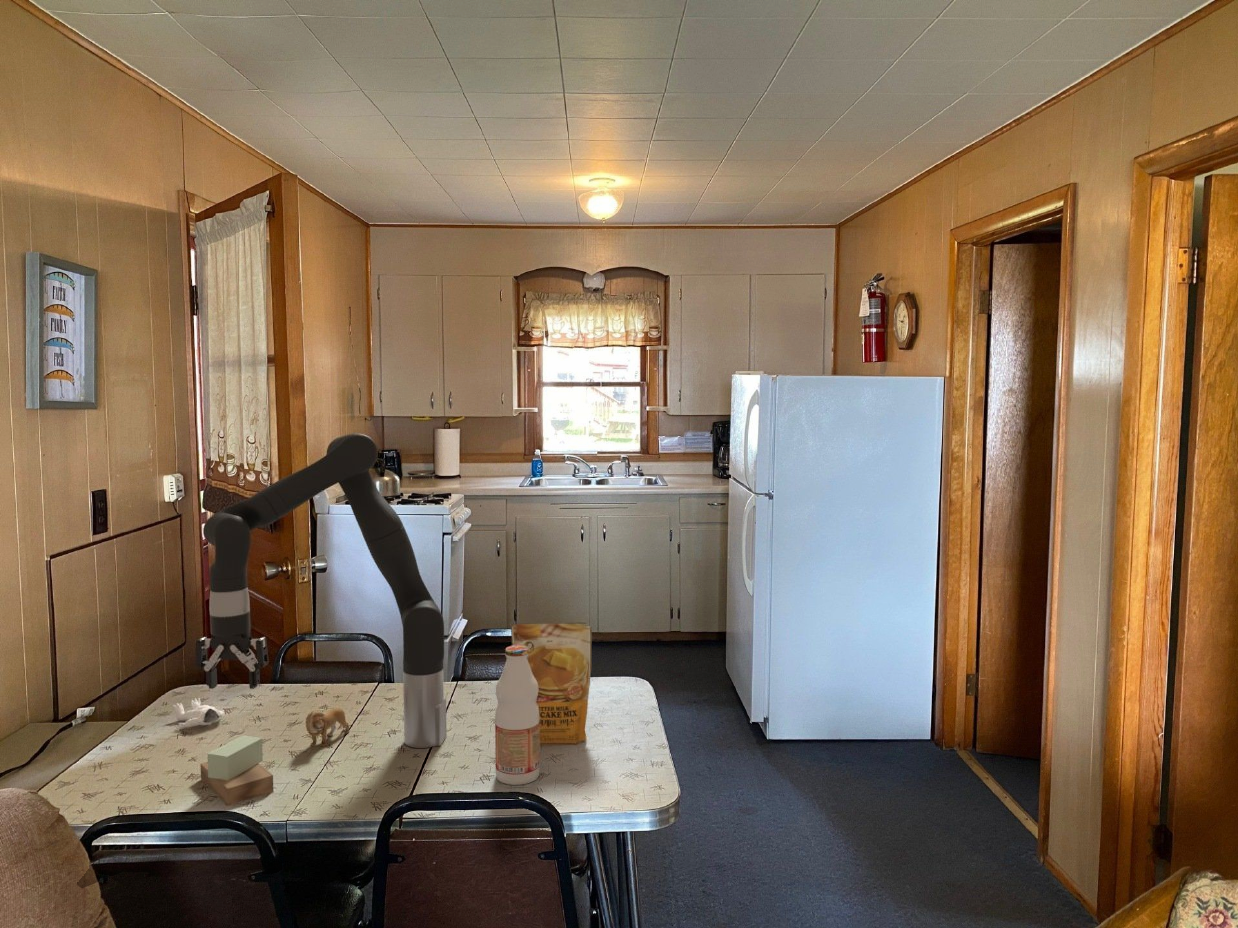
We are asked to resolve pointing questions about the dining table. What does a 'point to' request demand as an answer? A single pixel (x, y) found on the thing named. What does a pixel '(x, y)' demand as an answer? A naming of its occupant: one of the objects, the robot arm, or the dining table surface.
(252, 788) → the walnut brick
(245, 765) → the sage brick
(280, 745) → the dining table surface
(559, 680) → the pancake mix bag
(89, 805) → the dining table surface
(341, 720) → the lion figurine
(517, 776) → the fruit juice
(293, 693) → the dining table surface
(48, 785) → the dining table surface
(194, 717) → the toy creature
